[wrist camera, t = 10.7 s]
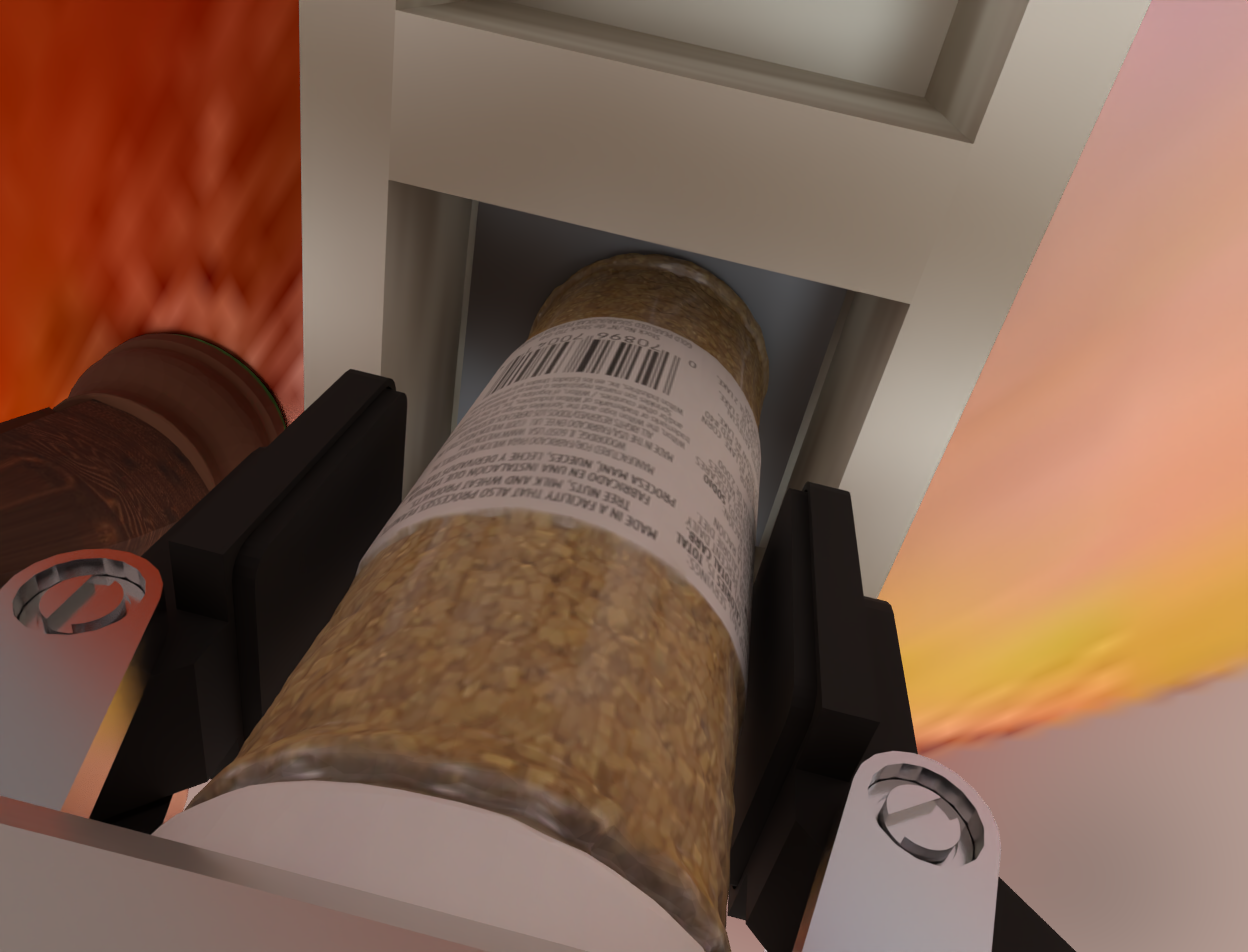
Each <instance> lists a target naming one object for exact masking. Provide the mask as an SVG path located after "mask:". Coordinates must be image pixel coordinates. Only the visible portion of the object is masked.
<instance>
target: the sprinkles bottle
mask: <svg viewBox="0 0 1248 952" xmlns="http://www.w3.org/2000/svg"><path fill="white" fill-rule="evenodd" d="M768 381H769V359H768V356H767V352H766V347H765V341H764V338H763V334H762V331H761V328H760V326H759V324H758V323H757V322H756V320H755V319H754V317H753V315H752V314H751V312H750V310H749V308H748V307H747V305H746V304H745V303H744V302H743V300H742V299H741V298H740V297H739V296H738V295H737V294H736V293H735V292H734V291H733V290H732V289H731V288H730V287H729V286H728V285H727V284H726V283H725V282H724V281H722V280H720V279H718V278H717V277H715V276H714V275H713V274H712V273H710V272H709V271H707V270H705V269H704V268H702V267H700V266H698V265H696V264H694V263H692V262H690V261H686V260H682V259H677V258H673V257H670V256H666V255H661V254H648V255H642V254H639V253H629V254H622V255H616V256H614V257H611V258H608V259H603V260H599V261H596V262H594V263H592V264H590V265H588V266H585V267H583V268H582V269H580V270H578V271H577V272H576V273H575V274H574V275H572V276H571V277H570V278H569V279H568V280H567V281H566V282H565V283H564V284H562V285H560V286H558V287H557V288H555V289H554V290H553V291H552V293H551V294H550V295H549V297H548V298H547V300H546V301H545V303H544V304H543V306H542V307H541V308H540V310H539V312H538V314H537V316H536V318H535V320H534V322H533V325H532V328H531V330H530V333H529V337H528V339H527V340H526V342H525V343H524V344H522V345H521V346H520V347H519V348H518V349H517V350H515V351H514V352H513V353H512V354H511V355H510V356H509V357H508V358H507V360H506V361H505V362H504V363H503V364H502V366H501V367H500V368H499V369H498V371H497V372H496V374H495V375H494V376H493V378H492V379H491V380H490V382H489V383H488V384H487V386H486V387H485V389H484V390H483V391H482V393H481V394H480V395H479V397H478V398H477V399H476V401H475V402H474V404H473V405H472V406H471V408H470V409H469V411H468V412H467V413H466V415H465V416H464V417H463V418H462V420H461V421H460V423H459V424H458V425H457V427H456V428H455V430H454V431H453V432H452V434H451V435H450V437H449V438H448V439H447V441H446V442H445V443H444V445H443V446H442V447H441V449H440V450H439V451H438V453H437V454H436V455H435V457H434V458H433V459H432V461H431V462H430V463H429V465H428V466H427V468H426V469H425V470H424V472H423V473H422V475H421V476H420V478H419V479H418V481H417V482H416V483H415V485H414V486H413V487H412V489H411V490H410V491H409V493H408V494H407V496H406V497H405V499H404V500H403V501H402V503H401V504H400V505H399V507H398V508H397V510H396V511H395V512H394V514H393V515H392V516H391V518H390V519H389V520H388V522H387V523H386V525H385V526H384V527H383V529H382V530H381V532H380V533H379V535H378V536H377V537H376V539H375V540H374V542H373V543H372V545H371V546H370V547H369V549H368V550H367V552H366V553H365V555H364V556H363V558H362V559H361V561H360V563H359V566H358V569H357V572H356V575H355V578H354V580H353V582H352V584H351V586H350V588H349V590H348V592H347V593H346V595H345V596H344V598H343V599H342V601H341V602H340V604H339V605H338V607H337V609H336V610H335V612H334V614H333V616H332V618H331V619H330V621H329V623H328V624H327V625H326V626H325V627H324V629H323V630H322V631H321V632H320V633H319V634H318V636H317V637H316V639H315V641H314V642H313V644H312V645H311V647H310V648H309V650H308V651H307V652H306V654H305V655H304V657H303V658H302V660H301V661H300V662H299V664H298V665H297V667H296V668H295V669H294V671H293V672H292V673H291V675H290V676H289V677H288V679H287V681H286V683H285V684H284V686H283V688H282V690H281V691H280V693H279V694H278V695H277V696H276V698H275V700H274V702H273V703H272V705H271V707H269V708H268V710H267V712H266V713H265V715H264V716H263V717H262V719H261V720H260V721H259V722H258V724H257V725H256V726H255V727H254V729H253V731H252V732H251V734H250V736H249V737H248V738H247V739H246V741H245V742H244V744H243V746H242V748H241V750H240V752H239V754H238V756H237V757H236V758H235V760H234V761H233V762H232V763H230V764H229V765H228V766H226V767H225V768H224V769H223V770H222V771H221V772H220V773H218V774H217V775H216V776H215V777H214V778H213V779H212V780H211V781H210V782H209V783H208V784H207V785H206V786H205V787H204V788H203V789H202V790H201V791H200V792H199V793H198V794H197V795H196V796H195V797H194V798H193V800H192V801H191V802H190V804H189V805H188V806H187V808H186V809H185V810H184V811H183V812H181V813H179V814H177V815H175V816H174V817H172V818H171V819H170V820H168V821H167V822H165V823H164V824H163V825H161V826H160V827H159V828H158V829H157V830H155V831H154V832H153V833H152V834H151V835H153V836H157V837H161V838H164V839H168V840H172V841H176V842H180V843H184V844H187V845H191V846H195V847H199V848H203V849H207V850H210V851H214V852H218V853H222V854H226V855H230V856H233V857H237V858H241V859H245V860H249V861H252V862H256V863H260V864H264V865H267V866H271V867H275V868H279V869H282V870H286V871H290V872H294V873H297V874H301V875H305V876H309V877H312V878H316V879H320V880H324V881H328V882H331V883H335V884H339V885H343V886H346V887H350V888H354V889H358V890H361V891H365V892H369V893H373V894H376V895H380V896H384V897H388V898H391V899H395V900H399V901H403V902H406V903H410V904H414V905H418V906H421V907H425V908H429V909H432V910H436V911H440V912H444V913H447V914H451V915H455V916H459V917H462V918H466V919H470V920H474V921H477V922H481V923H485V924H488V925H492V926H496V927H500V928H503V929H507V930H511V931H515V932H518V933H522V934H526V935H530V936H533V937H537V938H541V939H544V940H548V941H552V942H555V943H559V944H563V945H566V946H570V947H574V948H577V949H581V950H585V951H588V952H731V949H730V945H729V940H728V936H727V932H726V930H725V929H726V905H727V900H728V894H729V883H730V849H731V841H732V831H733V823H734V817H735V802H734V793H733V787H734V781H735V767H736V754H737V746H738V740H739V738H740V735H741V730H742V726H743V722H744V717H745V711H746V699H747V684H748V665H749V647H750V628H751V609H752V591H753V576H754V560H755V545H756V530H757V514H758V498H759V482H760V469H761V449H760V439H759V423H760V415H761V410H762V406H763V401H764V398H765V395H766V393H767V390H768Z"/></svg>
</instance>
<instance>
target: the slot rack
mask: <svg viewBox="0 0 1248 952" xmlns="http://www.w3.org/2000/svg"><path fill="white" fill-rule="evenodd" d="M1151 1H1152V0H299V33H300V112H301V190H302V269H303V348H304V411H305V410H306V409H307V408H308V407H309V406H310V405H311V404H312V403H313V402H315V401H316V400H317V399H318V398H319V397H320V396H321V395H322V394H323V393H324V392H325V391H326V390H327V389H328V388H329V387H330V386H331V385H332V384H333V383H334V382H336V381H337V380H338V379H339V378H340V377H341V376H342V375H343V374H344V373H345V372H346V371H348V370H349V369H355V370H359V371H363V372H367V373H371V374H375V375H379V376H383V377H387V378H391V379H393V380H394V382H395V386H396V391H399V392H403V393H405V394H406V396H407V420H406V437H405V454H404V470H403V487H402V501H403V500H404V499H405V497H406V496H407V494H408V493H409V491H410V490H411V489H412V487H413V486H414V485H415V483H416V482H417V481H418V479H419V478H420V476H421V475H422V473H423V472H424V470H425V469H426V468H427V466H428V465H429V463H430V462H431V461H432V459H433V458H434V457H435V455H436V454H437V453H438V451H439V450H440V449H441V447H442V446H443V445H444V443H445V442H446V441H447V439H448V438H449V437H450V435H451V434H452V432H453V431H454V430H455V428H456V427H457V425H458V424H459V423H460V421H461V420H462V418H463V417H464V416H465V415H466V413H467V412H468V411H469V409H470V408H471V406H472V405H473V404H474V402H475V401H476V399H477V398H478V397H479V395H480V394H481V393H482V391H483V390H484V389H485V387H486V386H487V384H488V383H489V382H490V380H491V379H492V378H493V376H494V375H495V374H496V372H497V371H498V369H499V368H500V367H501V366H502V364H503V363H504V362H505V361H506V360H507V358H508V357H509V356H510V355H511V354H512V353H513V352H514V351H515V350H517V349H518V348H519V347H520V346H521V345H522V344H524V343H525V342H526V340H527V339H528V337H529V333H530V330H531V328H532V325H533V322H534V320H535V318H536V316H537V314H538V312H539V310H540V308H541V307H542V306H543V304H544V303H545V301H546V300H547V298H548V297H549V295H550V294H551V293H552V291H553V290H554V289H555V288H557V287H558V286H560V285H562V284H564V283H565V282H566V281H567V280H568V279H569V278H570V277H571V276H572V275H574V274H575V273H576V272H577V271H578V270H580V269H582V268H583V267H585V266H588V265H590V264H592V263H594V262H596V261H599V260H603V259H608V258H611V257H614V256H616V255H622V254H629V253H639V254H642V255H648V254H661V255H666V256H670V257H673V258H677V259H682V260H686V261H690V262H692V263H694V264H696V265H698V266H700V267H702V268H704V269H705V270H707V271H709V272H710V273H712V274H713V275H714V276H715V277H717V278H718V279H720V280H722V281H724V282H725V283H726V284H727V285H728V286H729V287H730V288H731V289H732V290H733V291H734V292H735V293H736V294H737V295H738V296H739V297H740V298H741V299H742V300H743V302H744V303H745V304H746V305H747V307H748V308H749V310H750V312H751V314H752V315H753V317H754V319H755V320H756V322H757V323H758V324H759V326H760V328H761V331H762V334H763V338H764V341H765V347H766V352H767V356H768V359H769V381H768V390H767V393H766V395H765V398H764V401H763V406H762V410H761V415H760V423H759V439H760V449H761V469H760V482H759V498H758V514H757V530H756V545H755V560H754V576H753V584H754V582H755V579H756V576H757V573H758V570H759V567H760V565H761V562H762V559H763V556H764V553H765V550H766V548H767V545H768V542H769V539H770V536H771V533H772V531H773V528H774V525H775V522H776V519H777V516H778V514H779V511H780V508H781V505H782V502H783V499H784V497H785V494H786V492H787V490H788V489H789V488H792V489H796V490H800V491H802V489H803V487H804V485H805V483H806V482H808V481H809V482H813V483H817V484H821V485H825V486H829V487H833V488H837V489H841V490H845V491H848V492H850V495H851V501H852V509H853V516H854V524H855V532H856V539H857V547H858V555H859V563H860V570H861V578H862V586H863V594H864V596H867V597H871V598H875V599H877V598H878V595H879V593H880V591H881V589H882V587H883V584H884V582H885V580H886V578H887V576H888V574H889V571H890V569H891V567H892V565H893V563H894V561H895V558H896V556H897V554H898V552H899V550H900V547H901V545H902V543H903V541H904V539H905V537H906V534H907V532H908V530H909V528H910V526H911V523H912V521H913V519H914V517H915V515H916V513H917V510H918V508H919V506H920V504H921V502H922V500H923V497H924V495H925V493H926V491H927V489H928V486H929V484H930V482H931V480H932V478H933V476H934V473H935V471H936V469H937V467H938V465H939V463H940V460H941V458H942V456H943V454H944V452H945V449H946V447H947V445H948V443H949V441H950V439H951V436H952V434H953V432H954V430H955V428H956V425H957V423H958V421H959V419H960V417H961V415H962V412H963V410H964V408H965V406H966V404H967V402H968V399H969V397H970V395H971V393H972V391H973V388H974V386H975V384H976V382H977V380H978V378H979V375H980V373H981V371H982V369H983V367H984V364H985V362H986V360H987V358H988V356H989V354H990V351H991V349H992V347H993V345H994V343H995V341H996V338H997V336H998V334H999V332H1000V330H1001V327H1002V325H1003V323H1004V321H1005V319H1006V317H1007V314H1008V312H1009V310H1010V308H1011V306H1012V304H1013V301H1014V299H1015V297H1016V295H1017V293H1018V290H1019V288H1020V286H1021V284H1022V282H1023V280H1024V277H1025V275H1026V273H1027V271H1028V269H1029V266H1030V264H1031V262H1032V260H1033V258H1034V256H1035V253H1036V251H1037V249H1038V247H1039V245H1040V243H1041V240H1042V238H1043V236H1044V234H1045V232H1046V229H1047V227H1048V225H1049V223H1050V221H1051V219H1052V216H1053V214H1054V212H1055V210H1056V208H1057V205H1058V203H1059V201H1060V199H1061V197H1062V195H1063V192H1064V190H1065V188H1066V186H1067V184H1068V182H1069V179H1070V177H1071V175H1072V173H1073V171H1074V168H1075V166H1076V164H1077V162H1078V160H1079V158H1080V155H1081V153H1082V151H1083V149H1084V147H1085V144H1086V142H1087V140H1088V138H1089V136H1090V134H1091V131H1092V129H1093V127H1094V125H1095V123H1096V121H1097V118H1098V116H1099V114H1100V112H1101V110H1102V107H1103V105H1104V103H1105V101H1106V99H1107V97H1108V94H1109V92H1110V90H1111V88H1112V86H1113V84H1114V81H1115V79H1116V77H1117V75H1118V73H1119V70H1120V68H1121V66H1122V64H1123V62H1124V60H1125V57H1126V55H1127V53H1128V51H1129V49H1130V46H1131V44H1132V42H1133V40H1134V38H1135V36H1136V33H1137V31H1138V29H1139V27H1140V25H1141V23H1142V20H1143V18H1144V16H1145V14H1146V12H1147V9H1148V7H1149V5H1150V3H1151Z"/></svg>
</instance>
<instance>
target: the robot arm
mask: <svg viewBox="0 0 1248 952" xmlns="http://www.w3.org/2000/svg"><path fill="white" fill-rule="evenodd" d="M406 420H407V396H406V394H405V393H403V392H399V391H396V386H395V382H394V380H393V379H391V378H387V377H383V376H379V375H375V374H371V373H367V372H363V371H359V370H355V369H349V370H348V371H346V372H345V373H344V374H343V375H342V376H341V377H340V378H339V379H338V380H337V381H336V382H334V383H333V384H332V385H331V386H330V387H329V388H328V389H327V390H326V391H325V392H324V393H323V394H322V395H321V396H320V397H319V398H318V399H317V400H316V401H315V402H313V403H312V404H311V405H310V406H309V407H308V408H307V409H306V410H305V411H304V412H303V413H302V414H301V415H300V416H299V417H298V418H297V419H296V420H295V421H293V422H292V423H291V424H290V425H289V426H288V427H287V428H286V429H285V430H284V431H283V432H282V433H281V434H280V435H279V436H278V437H277V438H276V439H275V440H274V441H272V442H271V443H270V444H269V445H268V446H266V447H259V448H258V449H256V450H255V451H253V452H252V453H251V454H250V455H248V456H247V457H246V458H245V459H244V460H243V461H242V462H241V463H240V464H239V465H238V466H237V467H236V468H235V469H234V470H232V471H231V472H230V473H229V474H228V475H227V476H226V477H225V478H224V479H223V480H222V481H221V482H220V483H219V484H217V485H216V486H215V487H214V488H213V489H212V490H211V491H210V492H209V493H208V494H207V495H206V496H205V497H204V498H202V499H201V500H200V501H199V502H198V503H197V504H196V505H195V506H194V507H193V508H192V509H191V510H190V511H189V512H188V513H186V514H185V515H184V516H183V517H182V518H181V519H180V520H179V521H178V522H177V523H176V524H175V525H174V526H173V527H171V528H170V529H169V530H168V531H167V532H166V533H165V534H164V535H163V536H162V537H161V538H160V539H159V540H158V541H156V542H155V543H154V544H153V545H152V546H151V547H150V548H149V549H148V550H147V551H146V552H145V553H144V554H143V555H142V556H137V555H135V554H132V553H130V552H125V551H119V550H112V549H83V550H78V551H73V552H68V553H63V554H58V555H55V556H52V557H50V558H47V559H44V560H42V561H39V562H36V563H34V564H32V565H31V566H29V567H27V568H26V569H24V570H22V571H21V572H19V573H17V574H16V575H14V576H13V577H12V578H11V579H10V580H9V581H8V582H7V583H6V584H5V585H4V586H3V587H2V588H1V589H0V952H588V951H585V950H581V949H577V948H574V947H570V946H566V945H563V944H559V943H555V942H552V941H548V940H544V939H541V938H537V937H533V936H530V935H526V934H522V933H518V932H515V931H511V930H507V929H503V928H500V927H496V926H492V925H488V924H485V923H481V922H477V921H474V920H470V919H466V918H462V917H459V916H455V915H451V914H447V913H444V912H440V911H436V910H432V909H429V908H425V907H421V906H418V905H414V904H410V903H406V902H403V901H399V900H395V899H391V898H388V897H384V896H380V895H376V894H373V893H369V892H365V891H361V890H358V889H354V888H350V887H346V886H343V885H339V884H335V883H331V882H328V881H324V880H320V879H316V878H312V877H309V876H305V875H301V874H297V873H294V872H290V871H286V870H282V869H279V868H275V867H271V866H267V865H264V864H260V863H256V862H252V861H249V860H245V859H241V858H237V857H233V856H230V855H226V854H222V853H218V852H214V851H210V850H207V849H203V848H199V847H195V846H191V845H187V844H184V843H180V842H176V841H172V840H168V839H164V838H161V837H157V836H153V835H151V834H152V833H153V832H154V831H155V830H157V829H158V828H159V827H160V826H161V825H163V824H164V823H165V822H167V821H168V820H170V819H171V818H172V817H174V816H175V815H177V814H179V813H181V812H183V810H184V807H185V803H186V801H187V797H188V789H189V788H191V787H194V786H197V785H199V784H202V783H205V782H207V781H208V780H209V779H213V778H214V777H215V776H216V775H217V774H218V773H220V772H221V771H222V770H223V769H224V768H225V767H226V766H228V765H229V764H230V763H232V762H233V761H234V760H235V758H236V757H237V756H238V754H239V752H240V750H241V748H242V746H243V744H244V742H245V741H246V739H247V738H248V737H249V736H250V734H251V732H252V731H253V729H254V727H255V726H256V725H257V724H258V722H259V721H260V720H261V719H262V717H263V716H264V715H265V713H266V712H267V710H268V708H269V707H271V705H272V703H273V702H274V700H275V698H276V696H277V695H278V694H279V693H280V691H281V690H282V688H283V686H284V684H285V683H286V681H287V679H288V677H289V676H290V675H291V673H292V672H293V671H294V669H295V668H296V667H297V665H298V664H299V662H300V661H301V660H302V658H303V657H304V655H305V654H306V652H307V651H308V650H309V648H310V647H311V645H312V644H313V642H314V641H315V639H316V637H317V636H318V634H319V633H320V632H321V631H322V630H323V629H324V627H325V626H326V625H327V624H328V623H329V621H330V619H331V618H332V616H333V614H334V612H335V610H336V609H337V607H338V605H339V604H340V602H341V601H342V599H343V598H344V596H345V595H346V593H347V592H348V590H349V588H350V586H351V584H352V582H353V580H354V578H355V575H356V572H357V569H358V566H359V563H360V561H361V559H362V558H363V556H364V555H365V553H366V552H367V550H368V549H369V547H370V546H371V545H372V543H373V542H374V540H375V539H376V537H377V536H378V535H379V533H380V532H381V530H382V529H383V527H384V526H385V525H386V523H387V522H388V520H389V519H390V518H391V516H392V515H393V514H394V512H395V511H396V510H397V508H398V507H399V505H400V504H401V503H402V487H403V470H404V454H405V437H406ZM733 793H734V802H735V817H734V823H733V831H732V841H731V849H730V883H729V899H728V916H731V917H735V918H739V919H743V920H746V925H747V926H748V927H749V929H750V930H751V931H752V932H753V934H754V935H755V936H756V938H757V939H758V940H759V941H760V943H761V944H762V945H763V947H764V948H765V950H764V952H1076V951H1075V950H1074V949H1073V948H1072V947H1071V946H1070V945H1069V944H1067V942H1066V941H1065V940H1063V939H1062V938H1061V937H1060V936H1059V935H1058V934H1057V933H1056V932H1055V931H1054V930H1053V929H1052V928H1051V927H1050V926H1049V925H1048V924H1047V923H1046V922H1045V921H1044V920H1043V919H1042V918H1041V917H1040V916H1039V915H1038V914H1037V913H1036V912H1035V911H1034V910H1033V909H1032V908H1030V907H1029V906H1028V905H1027V904H1026V903H1025V902H1024V901H1023V900H1022V899H1021V898H1020V897H1019V896H1018V895H1017V894H1016V893H1015V892H1014V891H1013V890H1012V889H1011V888H1010V887H1009V886H1008V885H1007V884H1006V883H1005V882H1004V881H1002V879H1000V877H999V876H998V875H999V865H1000V854H1001V845H1000V835H999V829H998V826H997V824H996V822H995V820H994V817H993V815H992V813H991V810H990V809H989V807H988V806H987V805H986V803H985V802H984V801H983V799H982V798H981V797H980V795H979V794H978V793H977V791H976V790H975V789H974V788H973V787H971V786H970V785H969V784H968V783H967V782H966V781H965V780H964V779H962V778H961V777H960V776H959V775H958V774H957V773H955V772H953V771H952V770H950V769H949V768H947V767H945V766H943V765H942V764H940V763H938V762H937V761H935V760H932V759H929V758H926V757H924V756H921V755H918V753H917V747H916V741H915V735H914V730H913V724H912V718H911V712H910V706H909V700H908V695H907V689H906V683H905V677H904V671H903V665H902V660H901V654H900V648H899V642H898V636H897V630H896V625H895V619H894V613H893V610H892V607H891V605H890V604H889V603H888V602H887V601H883V600H879V599H875V598H871V597H867V596H864V594H863V586H862V578H861V570H860V563H859V555H858V547H857V539H856V532H855V524H854V516H853V509H852V501H851V495H850V492H848V491H845V490H841V489H837V488H833V487H829V486H825V485H821V484H817V483H813V482H809V481H808V482H806V483H805V485H804V487H803V489H802V491H800V490H796V489H792V488H789V489H788V490H787V492H786V494H785V497H784V499H783V502H782V505H781V508H780V511H779V514H778V516H777V519H776V522H775V525H774V528H773V531H772V533H771V536H770V539H769V542H768V545H767V548H766V550H765V553H764V556H763V559H762V562H761V565H760V567H759V570H758V573H757V576H756V579H755V582H754V584H753V591H752V609H751V628H750V647H749V665H748V684H747V699H746V711H745V717H744V722H743V726H742V730H741V735H740V738H739V740H738V746H737V754H736V767H735V781H734V787H733Z"/></svg>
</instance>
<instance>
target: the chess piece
mask: <svg viewBox="0 0 1248 952" xmlns="http://www.w3.org/2000/svg"><path fill="white" fill-rule="evenodd" d="M285 429H286V426H285V423H284V420H283V417H282V415H281V412H280V410H279V408H278V406H277V404H276V402H275V400H274V398H273V397H272V395H271V394H270V392H269V391H268V390H267V388H266V387H265V386H264V384H263V383H262V382H261V381H260V380H259V379H258V377H257V376H256V375H255V374H254V373H253V372H252V371H251V370H250V369H248V368H247V367H246V366H245V365H244V364H242V363H241V362H240V361H239V360H237V359H236V358H234V357H233V356H232V355H230V354H229V353H227V352H225V351H224V350H222V349H220V348H218V347H216V346H214V345H212V344H210V343H207V342H205V341H203V340H200V339H197V338H193V337H189V336H185V335H179V334H167V333H158V334H145V335H142V336H139V337H136V338H132V339H129V340H128V341H126V342H124V343H123V344H121V345H119V346H118V347H116V348H114V349H113V350H111V351H110V352H109V353H107V354H106V355H105V356H104V357H103V358H102V359H101V360H99V361H98V362H96V363H95V364H93V365H92V366H91V367H90V368H88V369H87V370H86V371H85V372H84V374H83V375H82V376H81V377H80V378H79V379H78V381H77V382H76V384H75V385H74V387H73V388H72V390H71V392H70V395H69V397H68V399H65V400H64V401H62V402H61V403H60V404H58V405H57V406H56V407H54V408H53V410H52V409H50V408H49V407H48V408H45V409H42V410H39V411H36V412H33V413H30V414H27V415H24V416H20V417H17V418H14V419H11V420H8V421H5V422H2V423H0V589H1V588H2V587H3V586H4V585H5V584H6V583H7V582H8V581H9V580H10V579H11V578H12V577H13V576H14V575H16V574H17V573H19V572H21V571H22V570H24V569H26V568H27V567H29V566H31V565H32V564H34V563H36V562H39V561H42V560H44V559H47V558H50V557H52V556H55V555H58V554H63V553H68V552H73V551H78V550H83V549H112V550H119V551H125V552H130V553H132V554H135V555H137V556H142V555H143V554H144V553H145V552H146V551H147V550H148V549H149V548H150V547H151V546H152V545H153V544H154V543H155V542H156V541H158V540H159V539H160V538H161V537H162V536H163V535H164V534H165V533H166V532H167V531H168V530H169V529H170V528H171V527H173V526H174V525H175V524H176V523H177V522H178V521H179V520H180V519H181V518H182V517H183V516H184V515H185V514H186V513H188V512H189V511H190V510H191V509H192V508H193V507H194V506H195V505H196V504H197V503H198V502H199V501H200V500H201V499H202V498H204V497H205V496H206V495H207V494H208V493H209V492H210V491H211V490H212V489H213V488H214V487H215V486H216V485H217V484H219V483H220V482H221V481H222V480H223V479H224V478H225V477H226V476H227V475H228V474H229V473H230V472H231V471H232V470H234V469H235V468H236V467H237V466H238V465H239V464H240V463H241V462H242V461H243V460H244V459H245V458H246V457H247V456H248V455H250V454H251V453H252V452H253V451H255V450H256V449H258V448H259V447H266V446H268V445H269V444H270V443H271V442H272V441H274V440H275V439H276V438H277V437H278V436H279V435H280V434H281V433H282V432H283V431H284V430H285Z"/></svg>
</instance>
